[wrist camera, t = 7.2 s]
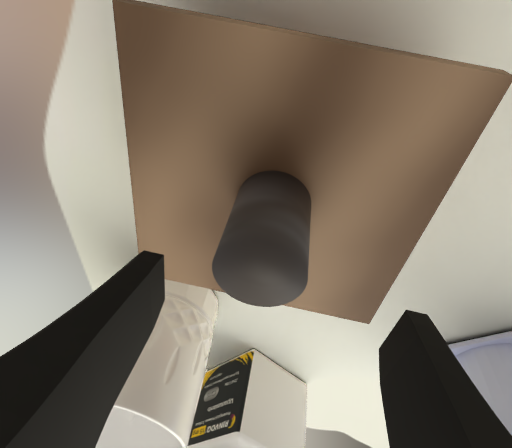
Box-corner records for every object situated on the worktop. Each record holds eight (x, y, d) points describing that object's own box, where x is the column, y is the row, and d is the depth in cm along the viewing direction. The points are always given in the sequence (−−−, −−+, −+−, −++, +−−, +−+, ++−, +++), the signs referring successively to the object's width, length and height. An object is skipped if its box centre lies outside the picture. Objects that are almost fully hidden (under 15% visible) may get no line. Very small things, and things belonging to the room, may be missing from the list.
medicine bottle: (253, 346, 29) (220, 527, 20) (309, 383, 31) (303, 562, 22) (204, 370, 33) (157, 532, 23) (257, 402, 35) (234, 561, 26)
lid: (503, 70, 10) (609, 128, 6) (367, 311, 18) (379, 404, 14) (124, -2, 11) (16, 13, 7) (147, 263, 18) (100, 341, 14)
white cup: (127, 311, 29) (54, 439, 21) (132, 247, 24) (39, 383, 16) (215, 338, 29) (175, 474, 21) (237, 281, 24) (196, 430, 17)
